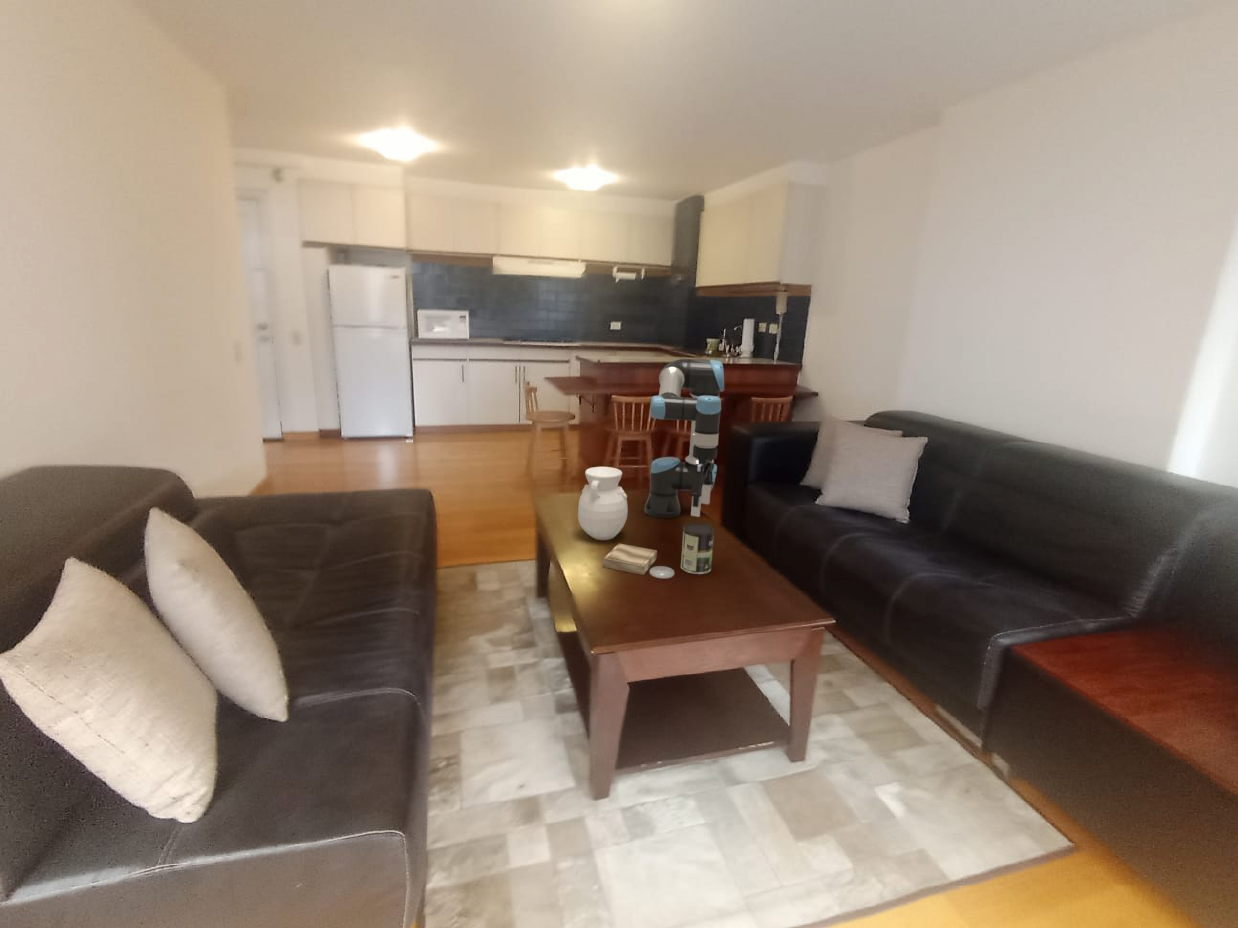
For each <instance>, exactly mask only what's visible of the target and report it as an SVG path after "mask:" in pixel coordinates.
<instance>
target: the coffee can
mask: <svg viewBox="0 0 1238 928" xmlns="http://www.w3.org/2000/svg"><path fill="white" fill-rule="evenodd" d="M715 531H716V530H715V528H714V527H713V526H712V525H710V524H706V523H702V522H690V523H689V522H688V523H686V524H684V525H683V527H682V543H681V544H682V545H681V556H680V557H681V560H680V569H681V570H682V571H684V572H686V573H689V574H693V575H705V574H708V573H710V572H711V571H712V563H713V549H714V537H715Z"/></svg>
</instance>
